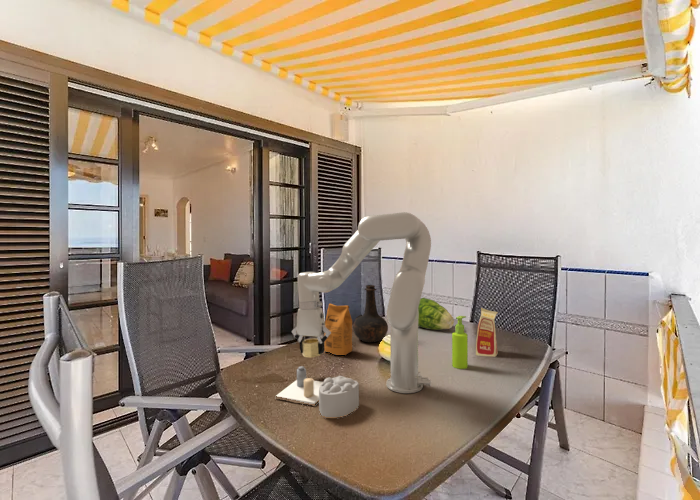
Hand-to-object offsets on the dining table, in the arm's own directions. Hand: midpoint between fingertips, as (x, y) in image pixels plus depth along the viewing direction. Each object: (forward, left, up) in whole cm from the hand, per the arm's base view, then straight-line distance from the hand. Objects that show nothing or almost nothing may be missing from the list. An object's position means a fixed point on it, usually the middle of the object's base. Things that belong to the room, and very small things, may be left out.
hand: (312, 352), depth 131 cm
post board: (-4, +13, -9) cm, 16 cm away
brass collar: (0, 0, -1) cm, 1 cm away
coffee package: (+2, -29, -10) cm, 30 cm away
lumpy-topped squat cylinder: (-18, +19, -10) cm, 28 cm away
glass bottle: (-6, -52, -10) cm, 53 cm away
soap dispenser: (-51, -30, -10) cm, 60 cm away
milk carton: (-61, -50, -10) cm, 79 cm away
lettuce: (-33, -83, -10) cm, 90 cm away
